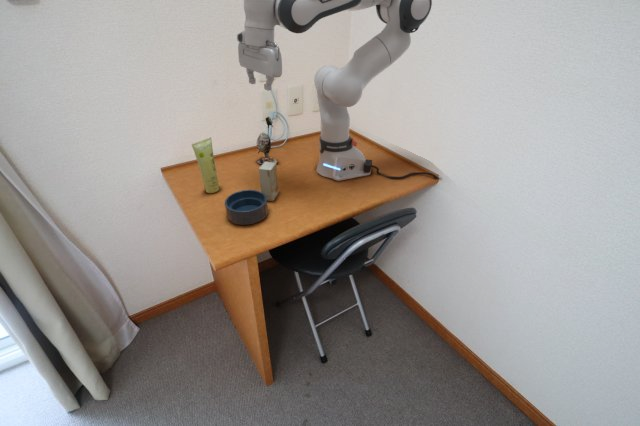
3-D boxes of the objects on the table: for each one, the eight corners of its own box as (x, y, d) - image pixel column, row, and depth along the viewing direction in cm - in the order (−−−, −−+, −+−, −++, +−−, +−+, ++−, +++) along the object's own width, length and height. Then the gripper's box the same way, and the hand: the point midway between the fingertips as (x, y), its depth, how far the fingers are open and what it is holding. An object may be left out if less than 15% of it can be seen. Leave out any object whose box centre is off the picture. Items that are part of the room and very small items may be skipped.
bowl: (267, 201, 110) (265, 188, 107) (269, 223, 100) (267, 209, 97) (228, 205, 108) (225, 191, 105) (226, 228, 98) (223, 213, 94)
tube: (217, 194, 114) (207, 143, 103) (203, 194, 114) (191, 143, 103) (220, 186, 119) (211, 137, 107) (207, 186, 118) (196, 137, 107)
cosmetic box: (273, 201, 110) (270, 170, 103) (261, 200, 111) (258, 169, 104) (279, 192, 115) (276, 162, 109) (267, 191, 116) (264, 160, 109)
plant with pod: (270, 155, 142) (266, 110, 131) (280, 164, 134) (276, 118, 123) (253, 158, 139) (247, 113, 128) (262, 168, 131) (257, 121, 119)
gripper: (288, 43, 91) (286, 93, 98) (251, 35, 103) (252, 80, 111) (269, 43, 87) (269, 95, 95) (233, 34, 100) (235, 80, 107)
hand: (259, 86), depth 103 cm, fingers open, 8 cm apart
